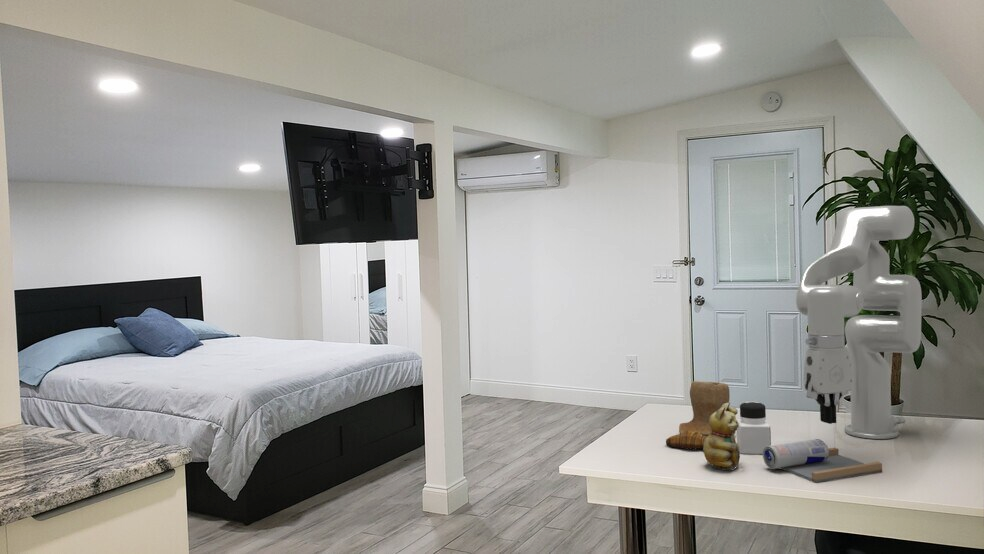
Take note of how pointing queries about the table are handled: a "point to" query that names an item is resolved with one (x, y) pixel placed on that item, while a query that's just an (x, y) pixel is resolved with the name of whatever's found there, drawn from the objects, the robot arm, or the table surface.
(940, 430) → the table surface
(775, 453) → the beverage can
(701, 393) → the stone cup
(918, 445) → the table surface
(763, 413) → the medicine bottle
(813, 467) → the rail mat
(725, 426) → the decorative figurine
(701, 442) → the croissant
